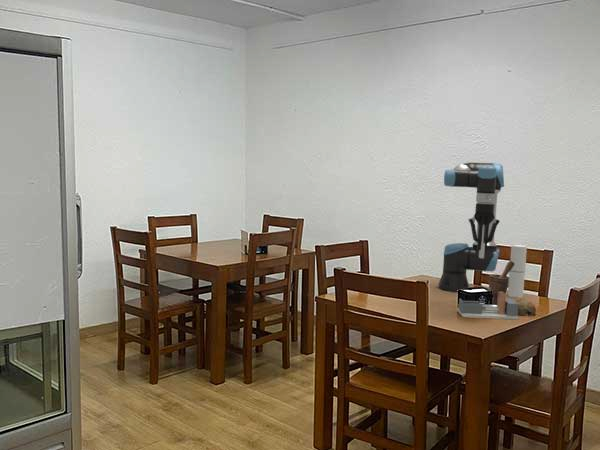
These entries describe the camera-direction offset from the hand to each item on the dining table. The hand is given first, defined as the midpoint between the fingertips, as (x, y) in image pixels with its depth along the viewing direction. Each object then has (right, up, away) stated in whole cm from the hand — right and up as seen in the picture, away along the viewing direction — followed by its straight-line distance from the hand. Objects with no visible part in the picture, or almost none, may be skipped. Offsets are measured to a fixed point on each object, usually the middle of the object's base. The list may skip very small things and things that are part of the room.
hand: (481, 257), depth 264 cm
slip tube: (+6, -24, +1) cm, 24 cm away
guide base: (+3, -25, +1) cm, 25 cm away
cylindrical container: (+28, -21, +39) cm, 53 cm away
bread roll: (+20, -25, +6) cm, 32 cm away
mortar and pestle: (+15, -23, +22) cm, 35 cm away
